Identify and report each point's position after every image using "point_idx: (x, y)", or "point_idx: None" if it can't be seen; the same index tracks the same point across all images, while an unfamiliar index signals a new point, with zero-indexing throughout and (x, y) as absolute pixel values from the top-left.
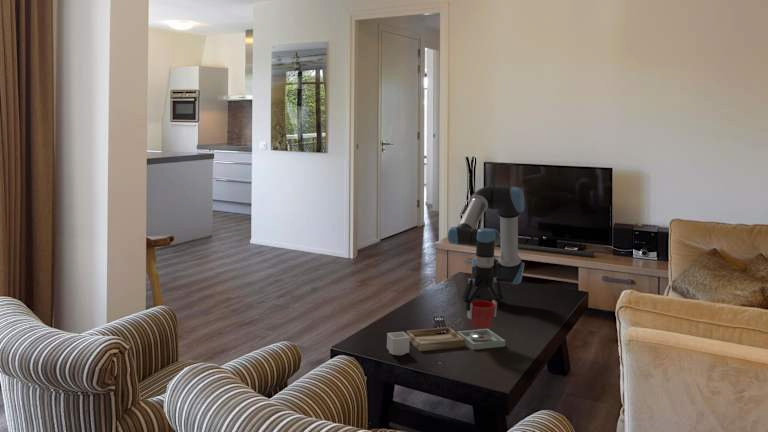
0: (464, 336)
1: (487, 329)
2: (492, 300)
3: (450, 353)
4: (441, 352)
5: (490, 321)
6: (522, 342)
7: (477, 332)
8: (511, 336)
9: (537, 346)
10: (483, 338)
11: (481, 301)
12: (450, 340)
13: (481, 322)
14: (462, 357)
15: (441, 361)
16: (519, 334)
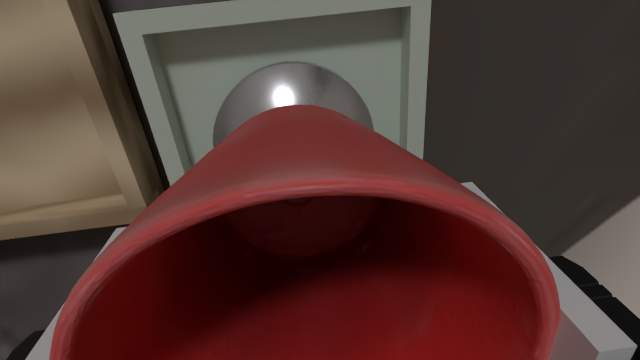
0: (164, 139)
1: (416, 3)
2: (593, 357)
3: (63, 271)
4: (6, 257)
5: (357, 292)
6: (539, 170)
7: (292, 83)
8: (551, 62)
9: (568, 227)
10: None
11: (402, 200)
12: (36, 225)
13: (263, 301)
14: None
15: (12, 344)
16: (632, 30)
